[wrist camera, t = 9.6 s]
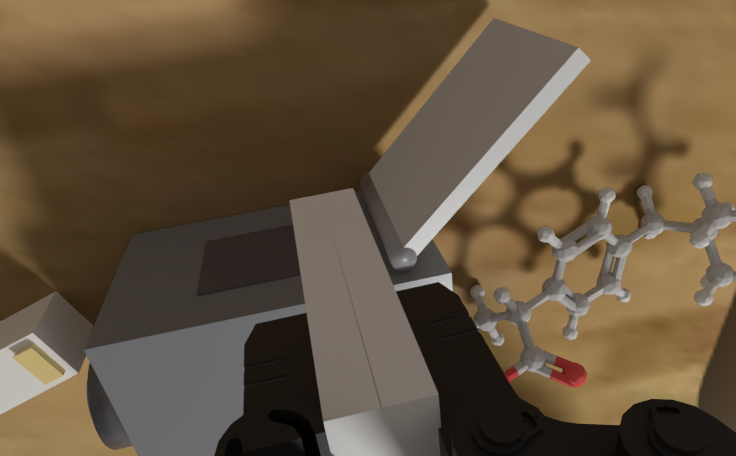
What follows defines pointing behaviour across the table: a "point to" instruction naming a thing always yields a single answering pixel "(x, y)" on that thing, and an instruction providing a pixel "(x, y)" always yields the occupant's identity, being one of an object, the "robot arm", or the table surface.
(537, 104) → the side door
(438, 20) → the table surface
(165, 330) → the grey box
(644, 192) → the molecular model
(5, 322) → the block
